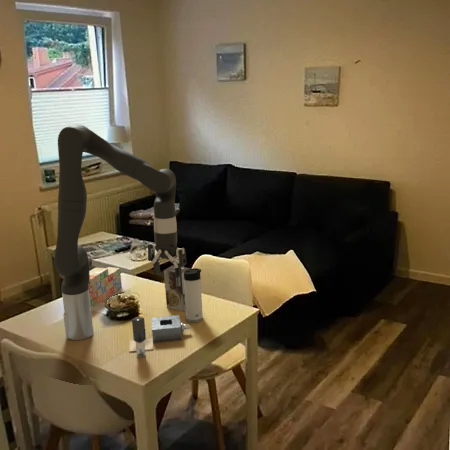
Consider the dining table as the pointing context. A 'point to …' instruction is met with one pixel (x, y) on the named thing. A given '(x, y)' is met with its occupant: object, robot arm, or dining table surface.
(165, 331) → the block
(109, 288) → the stack of blocks
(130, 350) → the cork mat
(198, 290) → the travel mug
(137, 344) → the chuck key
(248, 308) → the dining table surface
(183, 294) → the coffee box
